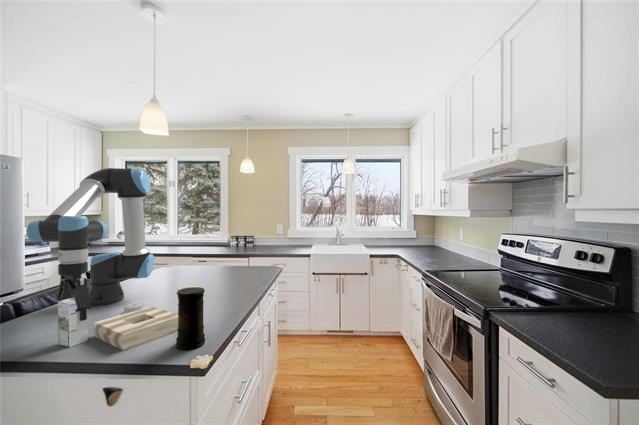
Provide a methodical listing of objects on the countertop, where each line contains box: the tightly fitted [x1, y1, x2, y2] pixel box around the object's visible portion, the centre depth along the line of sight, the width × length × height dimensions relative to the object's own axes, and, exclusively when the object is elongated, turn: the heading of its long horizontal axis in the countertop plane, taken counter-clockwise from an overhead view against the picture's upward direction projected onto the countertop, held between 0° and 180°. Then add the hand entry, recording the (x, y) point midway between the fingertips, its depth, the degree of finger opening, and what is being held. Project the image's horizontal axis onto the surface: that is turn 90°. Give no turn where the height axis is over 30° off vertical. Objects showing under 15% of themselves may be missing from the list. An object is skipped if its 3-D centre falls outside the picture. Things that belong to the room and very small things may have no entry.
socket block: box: [93, 306, 178, 351], centre depth 105 cm, size 20×20×5 cm
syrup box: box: [57, 297, 88, 348], centre depth 97 cm, size 6×6×14 cm
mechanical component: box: [119, 302, 146, 315], centre depth 123 cm, size 10×4×10 cm
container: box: [175, 287, 206, 351], centre depth 96 cm, size 9×9×18 cm
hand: (73, 325), depth 97 cm, fingers open, 13 cm apart
